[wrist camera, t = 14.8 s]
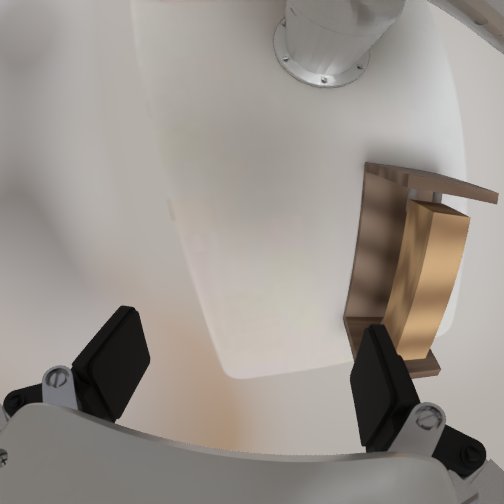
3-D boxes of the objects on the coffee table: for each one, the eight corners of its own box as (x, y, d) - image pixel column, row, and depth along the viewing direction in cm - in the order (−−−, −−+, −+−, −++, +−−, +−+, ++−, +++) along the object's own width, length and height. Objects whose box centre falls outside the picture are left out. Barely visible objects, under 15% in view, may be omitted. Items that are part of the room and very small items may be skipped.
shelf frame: (365, 162, 33) (408, 174, 20) (438, 173, 32) (498, 193, 19) (343, 319, 42) (359, 382, 29) (407, 318, 41) (437, 375, 28)
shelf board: (408, 199, 27) (433, 212, 22) (443, 203, 27) (470, 217, 21) (379, 331, 34) (391, 361, 28) (410, 330, 33) (425, 358, 28)
